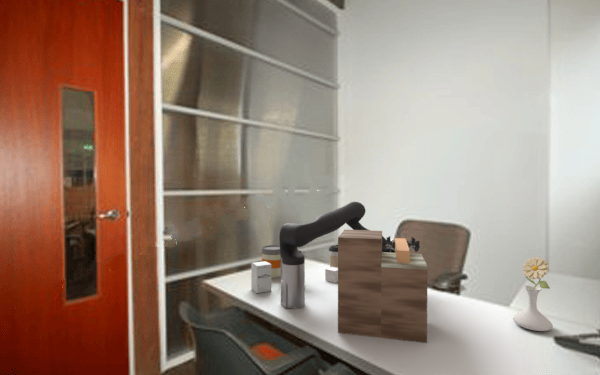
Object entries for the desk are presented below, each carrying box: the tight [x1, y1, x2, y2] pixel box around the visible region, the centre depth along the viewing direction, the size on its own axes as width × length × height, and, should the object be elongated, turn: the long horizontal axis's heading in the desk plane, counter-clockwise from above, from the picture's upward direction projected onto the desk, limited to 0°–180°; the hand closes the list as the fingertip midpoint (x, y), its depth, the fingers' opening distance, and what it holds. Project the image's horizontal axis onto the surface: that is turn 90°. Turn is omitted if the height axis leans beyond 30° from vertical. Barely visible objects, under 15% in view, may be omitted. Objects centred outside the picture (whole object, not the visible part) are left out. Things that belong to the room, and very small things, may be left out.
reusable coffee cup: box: [261, 244, 281, 279], centre depth 180 cm, size 13×13×15 cm
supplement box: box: [250, 261, 272, 294], centre depth 155 cm, size 7×7×13 cm
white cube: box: [324, 266, 338, 284], centre depth 171 cm, size 6×6×6 cm
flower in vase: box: [512, 256, 554, 332], centre depth 115 cm, size 13×11×25 cm
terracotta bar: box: [394, 237, 411, 263], centre depth 121 cm, size 24×4×4 cm, turn 166°
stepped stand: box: [337, 229, 428, 344], centre depth 117 cm, size 18×28×32 cm, turn 76°
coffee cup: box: [328, 244, 338, 268], centre depth 185 cm, size 9×9×15 cm
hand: (401, 239), depth 128 cm, fingers open, 8 cm apart
